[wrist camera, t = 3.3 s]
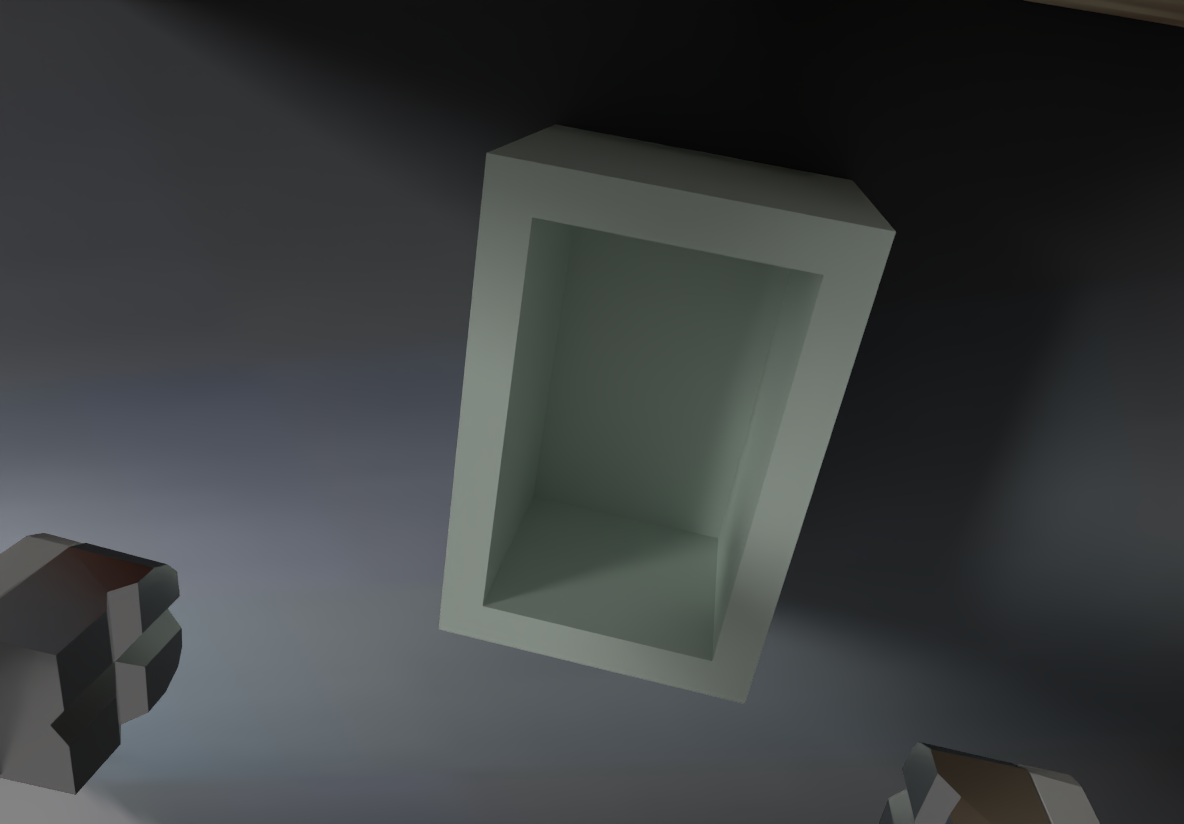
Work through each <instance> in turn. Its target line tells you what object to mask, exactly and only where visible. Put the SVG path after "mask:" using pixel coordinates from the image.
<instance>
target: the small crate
mask: <svg viewBox="0 0 1184 824" xmlns="http://www.w3.org/2000/svg"><path fill="white" fill-rule="evenodd" d="M895 233H896V231H895V230H894V229H893V228H892V226H891V225H890V224H889V223H888V222H887V221H886V219H885V218H884V217H883V216H882V215H881V213H880V212H879V211H878V210H877V209H876V208H875V206H874V205H873V204H872V203H871V202H870V200H869V199H868V198H867V197H866V196H865V194H864V193H863V192H862V191H861V190H860V189H859V187H858V186H857V185H856V184H855V183H854V181H853V180H849V179H843V178H838V177H833V176H827V175H822V174H817V173H811V172H806V171H801V170H795V169H790V168H785V167H779V166H774V165H769V164H764V163H758V162H753V161H748V160H742V159H737V158H732V157H726V156H721V155H716V154H710V153H705V152H700V151H694V150H689V149H684V148H679V147H673V146H668V145H663V144H657V143H652V142H647V141H641V140H636V139H631V138H625V137H620V136H615V135H610V134H604V133H599V132H594V131H588V130H583V129H578V128H572V127H567V126H562V125H556V124H555V125H553V126H551V127H548V128H546V129H543V130H541V131H538V132H536V133H534V134H531V135H529V136H526V137H524V138H521V139H519V140H517V141H514V142H512V143H509V144H507V145H504V146H502V147H500V148H497V149H495V150H492V151H490V152H487V153H486V163H485V173H484V183H483V193H482V202H481V212H480V222H479V232H478V242H477V252H476V262H475V272H474V282H473V292H472V302H471V312H470V322H469V332H468V342H467V352H466V362H465V372H464V382H463V392H462V402H461V412H460V421H459V431H458V441H457V451H456V461H455V471H454V481H453V491H452V501H451V511H450V521H449V531H448V541H447V551H446V561H445V571H444V581H443V591H442V601H441V611H440V621H439V629H440V630H444V631H448V632H452V633H456V634H460V635H464V636H468V637H473V638H477V639H481V640H485V641H489V642H493V643H497V644H501V645H505V646H509V647H514V648H518V649H522V650H526V651H530V652H534V653H538V654H542V655H546V656H550V657H555V658H559V659H563V660H567V661H571V662H575V663H579V664H583V665H587V666H591V667H596V668H600V669H604V670H608V671H612V672H616V673H620V674H624V675H628V676H632V677H637V678H641V679H645V680H649V681H653V682H657V683H661V684H665V685H669V686H673V687H678V688H682V689H686V690H690V691H694V692H698V693H702V694H706V695H710V696H714V697H719V698H723V699H727V700H731V701H735V702H739V703H743V704H745V702H746V699H747V696H748V693H749V689H750V686H751V683H752V680H753V677H754V674H755V671H756V668H757V664H758V661H759V658H760V655H761V652H762V649H763V646H764V643H765V639H766V636H767V633H768V630H769V627H770V624H771V621H772V618H773V614H774V611H775V608H776V605H777V602H778V599H779V596H780V593H781V589H782V586H783V583H784V580H785V577H786V574H787V571H788V568H789V565H790V561H791V558H792V555H793V552H794V549H795V546H796V543H797V540H798V536H799V533H800V530H801V527H802V524H803V521H804V518H805V515H806V511H807V508H808V505H809V502H810V499H811V496H812V493H813V490H814V486H815V483H816V480H817V477H818V474H819V471H820V468H821V465H822V461H823V458H824V455H825V452H826V449H827V446H828V443H829V440H830V436H831V433H832V430H833V427H834V424H835V421H836V418H837V415H838V411H839V408H840V405H841V402H842V399H843V396H844V393H845V390H846V386H847V383H848V380H849V377H850V374H851V371H852V368H853V365H854V361H855V358H856V355H857V352H858V349H859V346H860V343H861V340H862V336H863V333H864V330H865V327H866V324H867V321H868V318H869V315H870V311H871V308H872V305H873V302H874V299H875V296H876V293H877V290H878V286H879V283H880V280H881V277H882V274H883V271H884V268H885V265H886V261H887V258H888V255H889V252H890V249H891V246H892V243H893V240H894V236H895Z"/></svg>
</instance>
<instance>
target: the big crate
mask: <svg viewBox="0 0 1184 824" xmlns="http://www.w3.org/2000/svg"><path fill="white" fill-rule="evenodd" d="M1025 1H1031V2H1037V3H1043V4H1049V5H1055V6H1061V7H1067V8H1073V9H1079V10H1085V11H1091V12H1097V13H1103V14H1109V15H1115V16H1121V17H1127V18H1133V19H1139V20H1145V21H1151V22H1157V23H1163V24H1169V25H1174V26H1180V27H1184V0H1025Z"/></svg>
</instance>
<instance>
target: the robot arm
mask: <svg viewBox="0 0 1184 824" xmlns="http://www.w3.org/2000/svg"><path fill="white" fill-rule="evenodd" d="M179 596H180V595H179V585H178V576H177V571H176V570H174V569H173V568H171V567H170V566H169V565H167V564H164V563H160V562H156V561H153V560H149V559H145V558H141V557H137V556H133V555H130V554H126V553H122V552H118V551H114V550H111V549H107V548H103V547H99V546H95V545H92V544H88V543H80V542H76V541H72V540H69V539H65V538H61V537H57V536H54V535H50V534H46V533H41V534H35V535H29V536H26V537H25V538H23V539H22V540H20V541H19V542H17V543H16V544H14V545H13V546H11V547H10V548H9V549H7V550H6V551H4V552H3V553H1V554H0V778H4V779H8V780H12V781H17V782H21V783H26V784H30V785H35V786H39V787H44V788H48V789H52V790H57V791H61V792H66V793H70V794H75V795H76V794H77V793H78V791H79V790H80V789H81V788H82V787H83V786H84V785H85V784H86V782H87V781H88V780H89V779H90V778H91V777H92V776H93V775H94V773H95V772H96V771H97V770H98V769H99V768H100V767H101V765H102V764H103V763H104V762H105V761H106V760H107V759H108V758H109V756H110V755H111V754H112V753H113V752H114V751H115V750H116V749H117V747H118V746H119V745H120V744H121V724H123V723H126V722H128V721H130V720H132V719H135V718H137V717H139V716H141V715H143V714H146V713H148V712H149V711H150V710H151V709H152V707H153V706H154V705H155V704H156V703H157V701H158V700H159V699H160V698H161V697H162V695H163V694H164V693H165V692H166V690H167V688H168V686H169V684H170V682H171V680H172V678H173V676H174V674H175V672H176V670H177V668H178V664H179V659H180V654H181V649H182V629H181V627H180V625H179V624H178V623H177V621H176V620H175V618H174V617H173V616H172V614H171V613H170V611H169V610H168V608H169V606H170V605H171V604H172V603H173V602H174V601H175V600H176V599H177V598H178V597H179ZM902 771H903V775H904V779H905V783H906V787H907V789H905V790H903V791H902V792H900V793H898V794H896V795H894V796H892V797H891V798H889V799H888V801H887V803H886V806H885V808H884V811H883V813H882V816H881V818H880V821H879V824H1100V823H1099V821H1098V819H1097V817H1096V815H1095V813H1094V811H1093V809H1092V807H1091V805H1090V803H1089V801H1088V799H1087V797H1086V795H1085V793H1084V791H1083V789H1082V787H1081V785H1080V784H1079V783H1078V782H1077V781H1076V780H1075V779H1074V778H1073V777H1072V776H1070V775H1068V774H1064V773H1059V772H1054V771H1050V770H1045V769H1041V768H1036V767H1031V766H1027V765H1022V764H1018V765H1015V764H1013V763H1009V762H1005V761H1001V760H996V759H992V758H988V757H983V756H979V755H974V754H970V753H966V752H961V751H957V750H953V749H948V748H944V747H939V746H935V745H931V744H926V743H922V742H919V743H918V744H917V745H916V746H915V747H914V748H913V749H912V750H910V752H909V754H908V757H907V759H906V761H905V763H904V765H903V767H902Z"/></svg>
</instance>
